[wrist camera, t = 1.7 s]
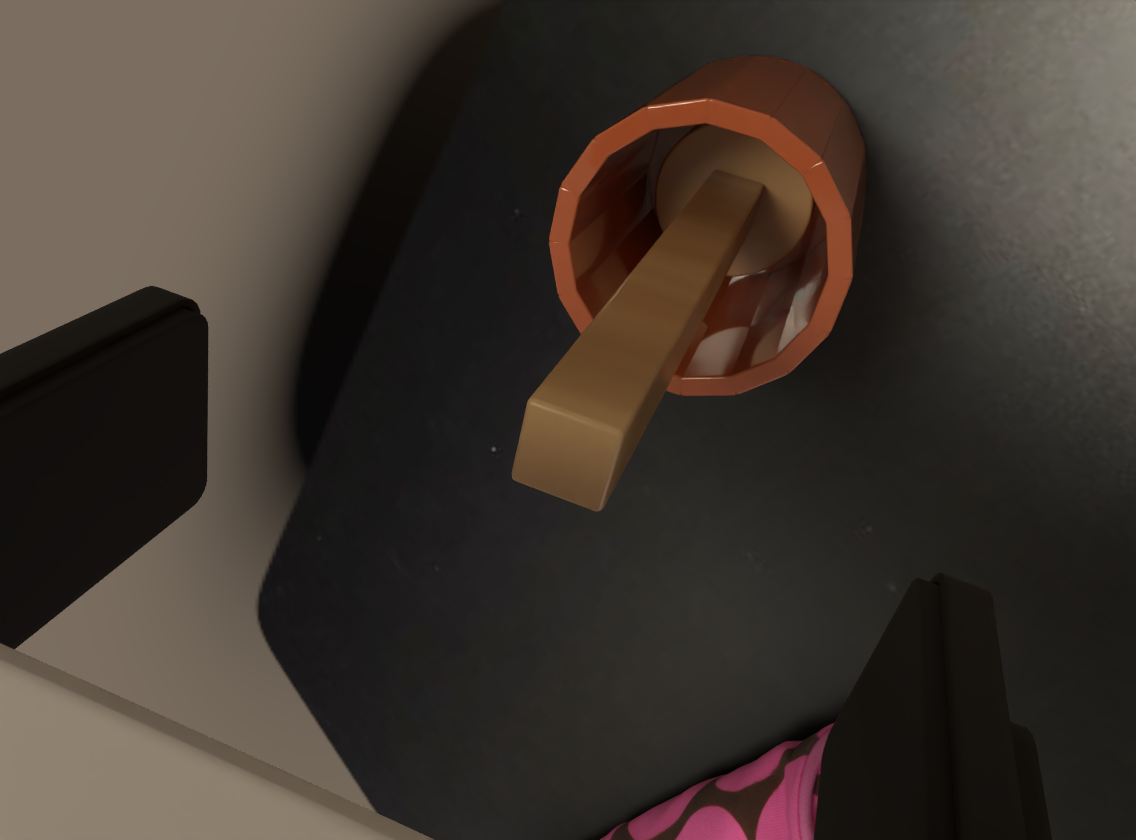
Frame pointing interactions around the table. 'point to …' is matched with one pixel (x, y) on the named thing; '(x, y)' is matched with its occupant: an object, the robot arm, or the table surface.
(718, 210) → the wooden post with base
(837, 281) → the crock
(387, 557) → the table surface
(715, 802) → the pencil case
